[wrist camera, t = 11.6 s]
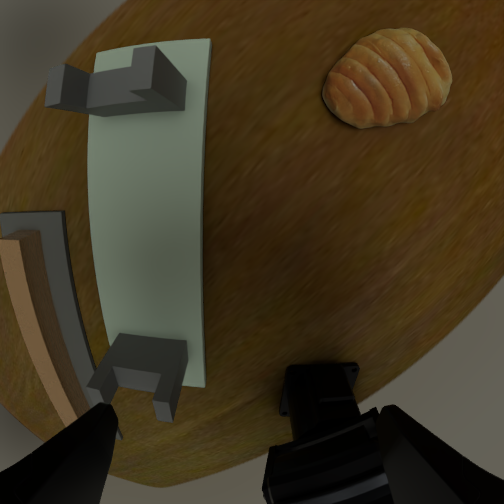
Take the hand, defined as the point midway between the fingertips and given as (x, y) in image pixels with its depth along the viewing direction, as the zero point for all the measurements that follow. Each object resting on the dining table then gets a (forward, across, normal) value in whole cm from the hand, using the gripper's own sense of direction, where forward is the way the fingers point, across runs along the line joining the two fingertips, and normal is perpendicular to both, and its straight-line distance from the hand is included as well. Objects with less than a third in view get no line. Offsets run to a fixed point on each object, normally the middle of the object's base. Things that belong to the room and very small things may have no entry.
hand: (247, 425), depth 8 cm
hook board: (+13, +7, -3) cm, 15 cm away
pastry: (+13, -10, -14) cm, 22 cm away
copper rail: (+12, +18, +9) cm, 24 cm away
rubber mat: (+13, +18, +9) cm, 24 cm away
